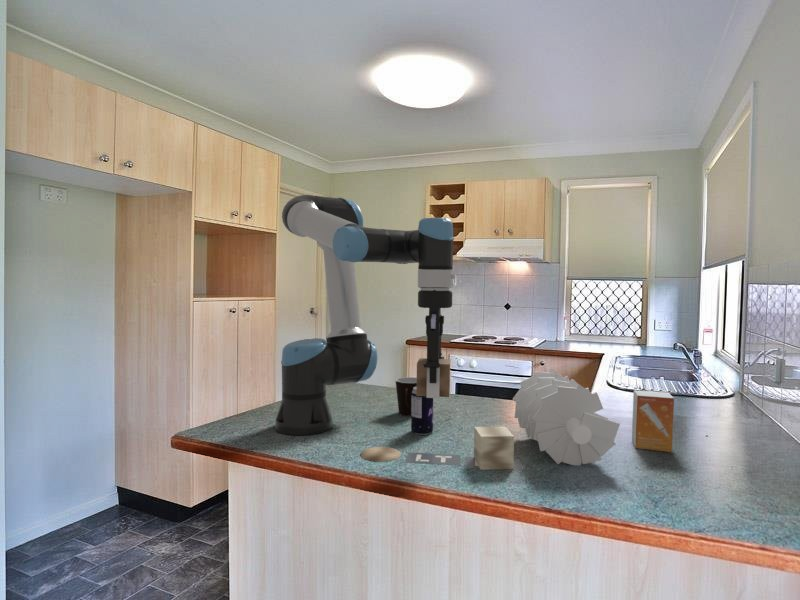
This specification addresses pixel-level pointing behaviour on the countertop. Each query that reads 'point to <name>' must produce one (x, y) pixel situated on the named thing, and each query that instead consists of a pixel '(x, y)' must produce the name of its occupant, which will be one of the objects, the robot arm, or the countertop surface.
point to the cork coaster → (380, 454)
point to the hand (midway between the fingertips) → (433, 393)
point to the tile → (433, 458)
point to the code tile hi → (472, 463)
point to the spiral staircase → (564, 418)
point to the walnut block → (444, 377)
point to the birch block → (493, 448)
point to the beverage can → (421, 414)
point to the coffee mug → (405, 394)
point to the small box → (652, 420)
